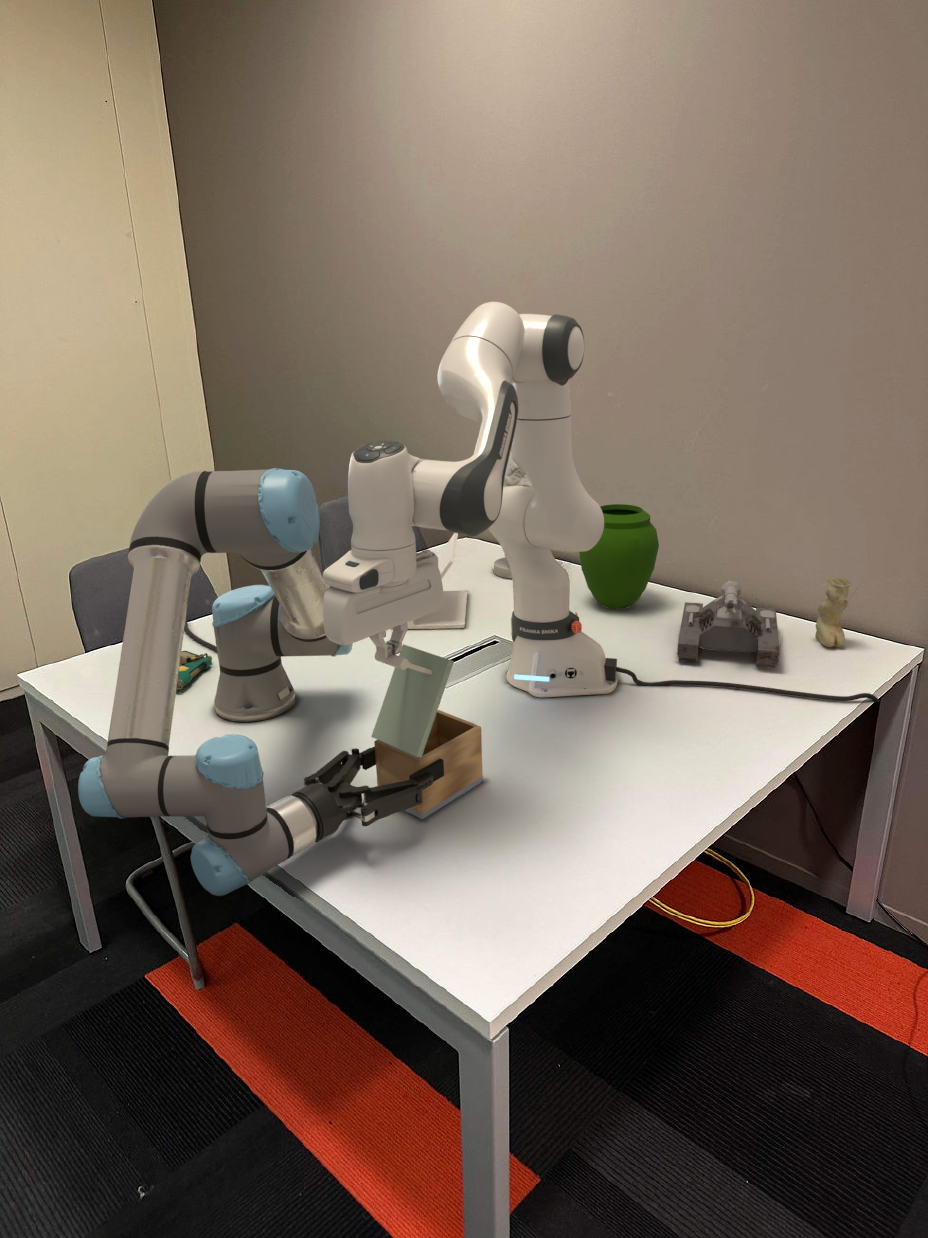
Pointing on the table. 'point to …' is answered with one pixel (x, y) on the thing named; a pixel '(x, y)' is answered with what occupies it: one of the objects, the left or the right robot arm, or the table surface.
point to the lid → (411, 699)
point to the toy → (729, 628)
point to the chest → (445, 742)
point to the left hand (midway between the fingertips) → (417, 756)
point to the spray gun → (191, 666)
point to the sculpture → (832, 613)
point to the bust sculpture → (512, 478)
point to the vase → (621, 557)
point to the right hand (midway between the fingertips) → (389, 655)
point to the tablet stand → (445, 598)
